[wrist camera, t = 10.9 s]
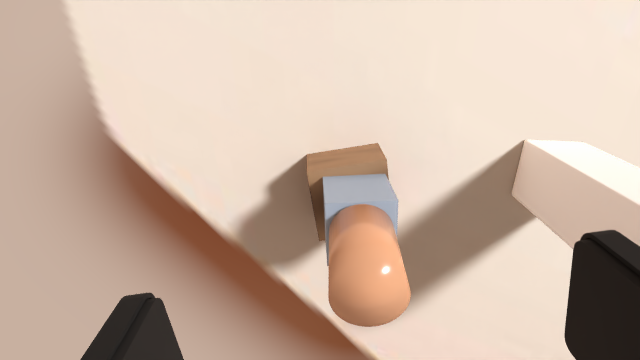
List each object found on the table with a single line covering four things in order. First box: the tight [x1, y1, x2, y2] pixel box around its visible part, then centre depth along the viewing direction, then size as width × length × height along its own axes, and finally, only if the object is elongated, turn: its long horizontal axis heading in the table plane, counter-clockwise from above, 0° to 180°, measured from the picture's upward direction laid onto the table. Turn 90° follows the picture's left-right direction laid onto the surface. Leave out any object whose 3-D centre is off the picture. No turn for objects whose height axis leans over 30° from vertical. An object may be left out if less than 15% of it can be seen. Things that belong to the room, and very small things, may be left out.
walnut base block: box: [307, 143, 389, 241], centre depth 39 cm, size 7×7×5 cm
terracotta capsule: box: [329, 204, 411, 327], centre depth 28 cm, size 5×5×7 cm
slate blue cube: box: [323, 174, 398, 266], centre depth 34 cm, size 6×6×6 cm
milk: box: [512, 140, 640, 249], centre depth 31 cm, size 6×6×22 cm
